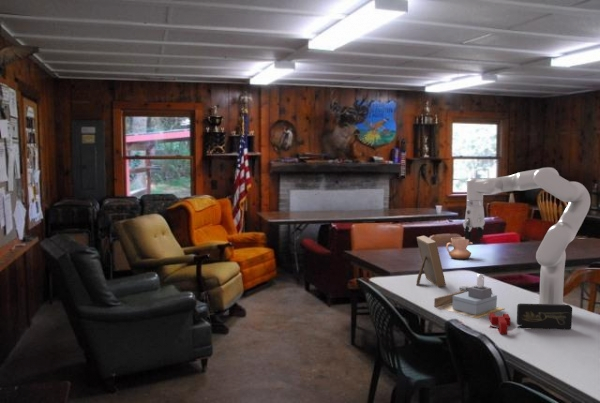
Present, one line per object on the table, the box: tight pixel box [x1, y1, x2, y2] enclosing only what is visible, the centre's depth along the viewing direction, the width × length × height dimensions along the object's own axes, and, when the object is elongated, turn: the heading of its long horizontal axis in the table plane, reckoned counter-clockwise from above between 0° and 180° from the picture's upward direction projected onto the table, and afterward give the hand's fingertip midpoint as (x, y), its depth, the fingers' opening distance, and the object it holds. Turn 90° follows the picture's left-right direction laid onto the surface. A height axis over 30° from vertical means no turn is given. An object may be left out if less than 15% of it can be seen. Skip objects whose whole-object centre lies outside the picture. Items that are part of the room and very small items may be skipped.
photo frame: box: [416, 235, 447, 288], centre depth 292 cm, size 15×22×25 cm
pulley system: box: [459, 285, 494, 295], centre depth 264 cm, size 27×5×15 cm
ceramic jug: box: [445, 236, 473, 260], centre depth 363 cm, size 18×14×14 cm
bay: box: [433, 290, 505, 321], centre depth 238 cm, size 22×22×6 cm
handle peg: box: [476, 273, 485, 290], centre depth 233 cm, size 3×3×10 cm
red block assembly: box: [488, 312, 511, 335], centre depth 213 cm, size 16×7×5 cm, turn 168°
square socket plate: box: [452, 285, 498, 315], centre depth 235 cm, size 12×16×10 cm
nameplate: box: [516, 302, 573, 331], centre depth 214 cm, size 21×2×10 cm, turn 84°
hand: (473, 238), depth 256 cm, fingers open, 9 cm apart
